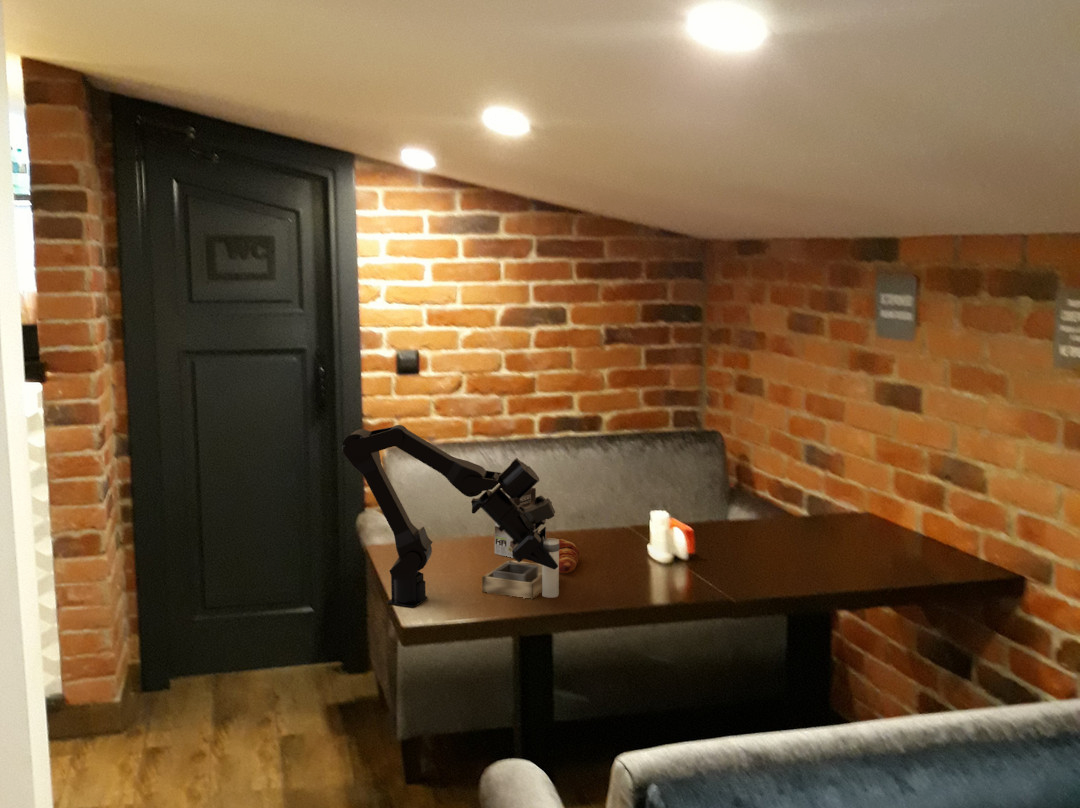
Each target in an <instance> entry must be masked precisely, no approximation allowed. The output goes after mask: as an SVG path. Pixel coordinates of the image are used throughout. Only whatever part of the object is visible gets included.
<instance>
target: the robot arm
mask: <svg viewBox="0 0 1080 808" xmlns="http://www.w3.org/2000/svg"><path fill="white" fill-rule="evenodd" d="M393 447H396V448H398V449H399V450H401V451H402V452H404V453H406V454H408V455H409V456H411V457H412V458H415V459H416V460H417V461H420V462H421V463H423V464H424V465H426V466H427V467H429V468H431V469H432V470H434V471H437V473H440V474H441V475H442V476H444V478H446V480H448V482H449V483H450V484H451V486H453V487H454V488H455V489H457V490H458V491H459V492H460V493H461V494H462V495H464V496H466V497H469V498H472V499H471V506H472V507H471V513H472V514H476V513H477V512H478V511H479V510H480V509H482V511H483V512H485V514H486V515H488V517H490V518H491V520H492V521H494V523H495V522H496V523H497V524H498V525H499V527H498V529H499V530H500V531H501V532H502V531H503V530H504V531H505V532H506V533H507V534H508V535H509V536H510V538H511V539H512V543H513V544H514V547H513V557H514V558H513V559H514V560H515V561H518V562H523V560H527V561H530V562H532V563H537V564H541V565H544V566H546V567H549V568H552V569H556V568H557V567H558V565H557V563H556V562H555V560H554V559H553V558H552V556H551V555H550V553H549V552H548V551H547V549H546V548H545V547H544V539H546V538H547V526H544V525H545V524H546V522H547V521H546V520H550V519H552V518H553V517H555V514H556V511H555V508H554V507H553V503H552V501H551V500H550V498H548V497H546V498H545V497H544V496H543V495H542V494H541V495H538V496H536V498H535V501H534V505H531V507H529V508H526V509H525V508H524V507H523V506H522V505H521V506H520V505H518V506H517V505H516V504H515V503H514V502H513V501H512V500H511V499H510V498H509V497H511V498H513V499H515V498H516V497H517V498H519V499H520V498H522V497H523V496H524V495H525V494H526V493H527V492H528V491H529V490H530V489H531V488H534V487H535V486H536V485H537V483H539V482H540V478H539V476H538V475H537V473H536V472H535V471H534V470H533V468H532V467H531V466H529V465H528V464H526V463H525V462H523V461H521V460H520V459H519V458H517V457H516V458H515V459H513V460H512V461H511V463H510V465H509V466H507V467H506V468H505V469H504V470H503V471H502V472H500V471H499V472H498V471H492V470H486V469H485V468H484V467H483V466H481V465H479V464H477V463H474V462H472V461H469V460H466V459H461V458H457V457H456V456H455V457H454V456H452V455H451V454H449V453H447V452H446V451H444V450H442V449H440V448H439V447H437V446H436V445H434V444H431V443H430V442H429V441H427V440H426V439H424V438H422V437H421V436H419V435H418V434H416V433H413V432H412V431H411V430H409V429H407V427H405V426H404V425H402V424H396V425H394V426H391V427H386V428H384V427H383V428H380V429H379V428H378V429H374V430H367V429H365V428H362V429H359V428H358V429H357V430H355V431H354V432H352V433H351V434H349V435H348V436H346V437H345V439H344V440H343V442H342V446H341V450H342V454H343V455H344V456H345V458H346V459H347V461H348V462H349V463H350V465H351V466H352V467H353V468H354V469H355V470H356V471H358V473H359V474H361V476H362V477H363V478H364V480H365V482H366V484H367V485H368V488H369V490H370V491H371V493H372V495H373V496H374V499H375V502H377V505H378V506H379V509H380V510H381V512H382V515H383V516H384V518H385V520H386V522H387V524H388V527H389V528H390V530H391V531H392V534H393V537H394V542H395V548H396V553H397V556H398V558H397V559H396V561H395V562H394V563H393V565H392V567H391V568H389V569H390V570H389V572H390V573H389V574H390V584H391V585H390V592H391V596H390V597H391V598H390V599H389V600H387V604H388V605H394V606H401V607H407V608H415V607H417V606H418V605H420V604H421V603H423V602H425V601H426V600H427V599H428V595H427V594H426V593H427V592H426V580H424V573H423V572H421V570H423V569H424V568H425V566H426V565H427V563H428V561H429V560H430V559H431V556H432V553H433V547H432V544H433V541H432V540H431V539H430V538H429V536H428V534H427V530H426V528H425V527H424V526H422V527H420V528H417V527H416V526H415V525H414V524H413V523H412V522H411V520H410V518H409V515H408V513H407V512H406V510H405V508H404V506H403V504H402V502H401V500H400V498H399V497H398V495H397V492H396V491H395V488H394V487H393V484H392V483H391V481H390V479H389V477H388V475H387V473H386V472H385V469H384V468H383V464H382V460H381V455H380V454H381V453H380V451H384V450H386V449H387V450H388V449H390V448H393ZM498 484H499V485H498ZM502 489H503V490H504V492H505V493H506V494H507V495H508V496H509V497H508V496H507V495H506V494H505V493H504V492H503V491H502ZM479 495H480V496H479ZM477 496H479V497H478V498H474V497H477ZM541 525H542V526H544V527H543V528H542V529H540V526H541ZM426 595H427V596H426Z"/></svg>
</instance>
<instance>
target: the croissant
mask: <svg viewBox="0 0 1080 808" xmlns="http://www.w3.org/2000/svg"><path fill="white" fill-rule="evenodd" d="M557 539H558V538H557ZM558 540H559V574H567V573H572V572H573V571H574V570H575V569H576V567H577V565H578V562H579V557H580V550H579V548H578V547H577V546H576V545H575V544H574V543H573V542H571V541H569V540H565V539H560V538H559V539H558Z"/></svg>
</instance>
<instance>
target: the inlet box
mask: <svg viewBox="0 0 1080 808" xmlns="http://www.w3.org/2000/svg"><path fill="white" fill-rule="evenodd" d="M481 578H482V582H481V583H482V587H481V588H482V589H481V590H482V593H484V592H487V593H486V594H491V593H496V594H495V595H498V594H502V595H501V596H505V595H510V596H509V597H512V596H517V597H516V598H518V597H523V598H522V599H525V598H531V599H530V600H533V598H534V597H535V596H536V597H538V596H539V595H540V594H542V565H541V564H538V563H536V562H529V561H521V562H518V561H517V560H515V559H514V560H512V559H508V560H506V561H505V562H503V563H502V564H500V565H499V566H498V567H496V568H494V569H493V570H491V571H489V572H488V573H486V574H485V575H483V576H482V577H481ZM539 593H540V594H539ZM538 594H539V595H538ZM537 595H538V596H537ZM536 597H535V598H536ZM535 598H534V599H535Z"/></svg>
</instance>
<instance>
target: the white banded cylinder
mask: <svg viewBox="0 0 1080 808" xmlns="http://www.w3.org/2000/svg"><path fill="white" fill-rule="evenodd" d="M544 547H545V548H546V549H547V551H548V552H549V553H550V555H551V556H552V558H553V559H554V560H555V562H556V563H557V565H558V567H557V568H556V569H552V568H549V567H546V566H544V565H542V592H541V595H542V597H544V598H549V599H550V598H552V599H553V598H557V597H559V593H560V589H559V586H560V583H559V581H560V580H559V579H560V578H559V577H560V573H559V540H558V538H554V537H548V538H547V537H546V539H544Z"/></svg>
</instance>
